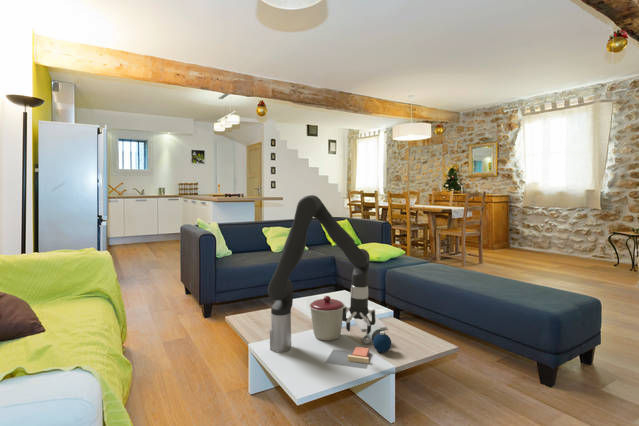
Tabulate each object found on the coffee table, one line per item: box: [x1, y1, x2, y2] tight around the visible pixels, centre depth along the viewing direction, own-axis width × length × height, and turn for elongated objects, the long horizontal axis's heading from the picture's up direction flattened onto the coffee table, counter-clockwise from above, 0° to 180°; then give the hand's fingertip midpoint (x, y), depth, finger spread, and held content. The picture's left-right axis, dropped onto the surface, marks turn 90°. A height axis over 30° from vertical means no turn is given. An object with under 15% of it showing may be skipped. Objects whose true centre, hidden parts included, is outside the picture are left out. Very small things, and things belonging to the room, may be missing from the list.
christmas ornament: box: [372, 330, 392, 353], centre depth 169 cm, size 8×8×10 cm
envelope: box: [349, 312, 387, 332], centre depth 206 cm, size 24×2×14 cm
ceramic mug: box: [361, 325, 386, 345], centre depth 180 cm, size 11×8×8 cm
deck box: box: [352, 346, 370, 357], centre depth 164 cm, size 6×2×8 cm
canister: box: [308, 295, 346, 342], centre depth 186 cm, size 18×18×21 cm
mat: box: [324, 349, 373, 370], centre depth 162 cm, size 18×14×2 cm
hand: (358, 332), depth 160 cm, fingers open, 8 cm apart
